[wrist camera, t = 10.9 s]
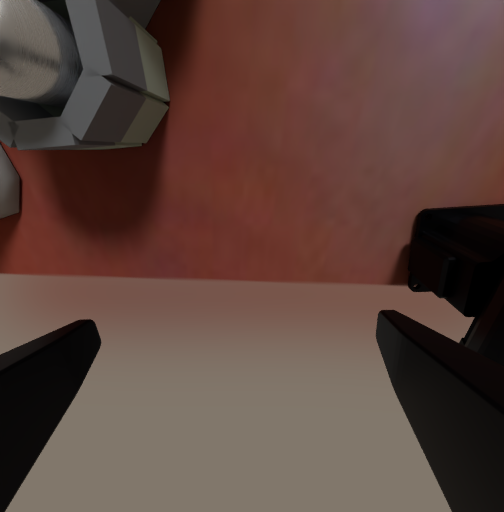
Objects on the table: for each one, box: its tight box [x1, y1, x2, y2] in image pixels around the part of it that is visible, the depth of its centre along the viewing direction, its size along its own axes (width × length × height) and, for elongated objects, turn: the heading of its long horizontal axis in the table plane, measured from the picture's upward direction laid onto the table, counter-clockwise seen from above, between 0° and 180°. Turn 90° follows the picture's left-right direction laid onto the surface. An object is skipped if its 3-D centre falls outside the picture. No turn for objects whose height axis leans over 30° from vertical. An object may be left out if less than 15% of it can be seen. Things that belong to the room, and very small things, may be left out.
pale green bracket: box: [38, 0, 170, 150], centre depth 14 cm, size 15×8×7 cm, turn 50°
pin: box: [0, 0, 83, 108], centre depth 14 cm, size 4×4×9 cm
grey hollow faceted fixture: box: [0, 0, 161, 150], centre depth 13 cm, size 15×8×7 cm, turn 140°
